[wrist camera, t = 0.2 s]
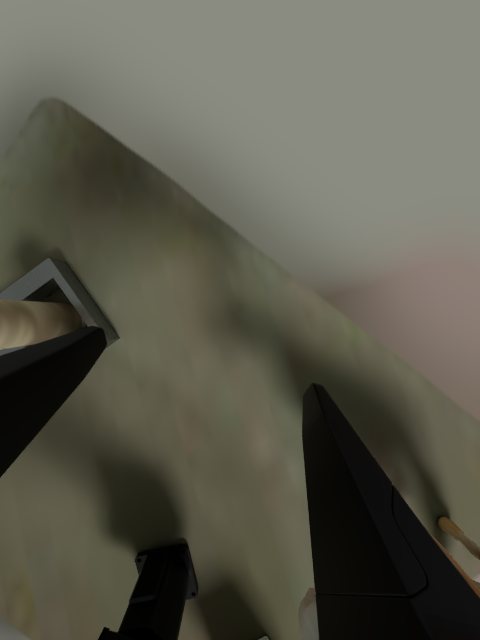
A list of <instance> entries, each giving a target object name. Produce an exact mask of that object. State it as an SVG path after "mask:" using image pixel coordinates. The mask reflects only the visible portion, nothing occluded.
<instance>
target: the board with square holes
mask: <svg viewBox="0 0 480 640" xmlns="http://www.w3.org/2000/svg"><path fill="white" fill-rule="evenodd" d="M59 288H61V289H62V291H63V292H64V293H65V295H66V296H67V298H68V299H69V300H70V302H71V303H72V305H73V306H74V307H75V309H76V310H77V312H78V313H79V315H80V316H81V317H82V319H83V320H84V322H85V323H86V324H87V326H88V327H89V326H97V327H101V328H103V329H104V332H105V335H106V339H107V346H106V348H107V347H108V346H109V345H111V344H112V343H114V342H115V341H117V340H118V339H119V336H118V335H117V334H116V332H115V331H114V329H113V328H112V327H111V325H110V324H109V322H108V321H107V320H106V318H105V317H104V315H103V314H102V312H101V311H100V310H99V308H98V307H97V305H96V304H95V303H94V301H93V300H92V298H91V297H90V296H89V294H88V293H87V291H86V290H85V288H84V287H83V286H82V284H81V283H80V281H79V280H78V279H77V277H76V276H75V274H74V273H73V272H72V270H71V269H70V267H69V266H68V264H67V263H66V262H64V261H60V260H57V259H53V258H50V257H49V258H47V259H46V260H45V261H43V262H42V263H40V264H39V265H38V266H36V267H35V268H34V269H32V270H31V271H30V272H28V273H27V274H25V275H24V276H23V277H21V278H20V279H19V280H17V281H16V282H15V283H13V284H12V285H10V286H9V287H8V288H6V289H5V290H4V291H2V292H1V293H0V300H17V301H35V302H41V301H42V300H43V299H45V298H46V297H48V296H49V295H50V294H52V293H53V292H54V291H56V290H57V289H59ZM28 346H31V345H27V346H20V347H14V348H7V349H0V356H1V355H4V354H7V353H10V352H13V351H16V350H19V349H22V348H25V347H28Z"/></svg>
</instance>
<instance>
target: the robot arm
mask: <svg viewBox="0 0 480 640" xmlns="http://www.w3.org/2000/svg"><path fill="white" fill-rule="evenodd" d="M106 346H107V339H106V335H105V332H104V329H103V328H101V327H97V326H89V327H86V328H83V329H80V330H77V331H74V332H71V333H68V334H65V335H62V336H59V337H56V338H52V339H49V340H46V341H43V342H40V343H37V344H34V345H31V346H28V347H25V348H22V349H19V350H16V351H13V352H10V353H7V354H4V355H1V356H0V477H1V476H2V475H3V474H4V473H5V471H6V470H7V469H8V468H9V467H10V466H11V464H12V463H13V462H14V461H15V460H16V458H17V457H18V456H19V455H20V454H21V453H22V451H23V450H24V449H25V448H26V447H27V446H28V444H29V443H30V442H31V441H32V440H33V438H34V437H35V436H36V435H37V434H38V433H39V431H40V430H41V429H42V428H43V427H44V425H45V424H46V423H47V422H48V421H49V420H50V418H51V417H52V416H53V415H54V414H55V413H56V411H57V410H58V409H59V408H60V407H61V405H62V404H63V403H64V402H65V401H66V400H67V398H68V397H69V396H70V395H71V394H72V392H73V391H74V390H75V389H76V388H77V387H78V385H79V384H80V383H81V382H82V381H83V379H84V378H85V377H86V375H87V374H88V373H89V371H90V370H91V368H92V367H93V365H94V364H95V362H96V361H97V360H98V358H99V357H100V355H101V354H102V352H103V351H104V349H105V348H106ZM302 440H303V452H304V464H305V476H306V488H307V500H308V512H309V524H310V536H311V547H312V559H313V571H314V583H315V592H316V594H315V597H316V609H317V621H318V633H319V640H480V597H479V596H478V595H477V594H476V592H475V591H474V590H473V588H472V587H471V586H470V585H469V583H468V582H467V581H466V580H465V578H464V577H463V576H462V575H461V573H460V572H459V571H458V570H457V568H456V567H455V566H454V564H453V563H452V562H451V561H450V559H449V558H448V557H447V556H446V554H445V553H444V552H443V551H442V549H441V548H440V547H439V545H438V544H437V543H436V542H435V540H434V539H433V538H432V536H431V535H430V534H429V533H428V531H427V530H426V529H425V527H424V526H423V525H422V523H421V522H420V521H419V519H418V518H417V517H416V515H415V514H414V513H413V511H412V510H411V508H410V507H409V506H408V504H407V503H406V502H405V500H404V499H403V498H402V496H401V495H400V493H399V492H398V490H397V489H396V488H395V486H393V485H392V482H391V481H390V479H389V478H388V477H387V475H386V474H385V472H384V471H383V470H382V468H381V467H380V465H379V464H378V463H377V461H376V460H375V458H374V457H373V456H372V454H371V453H370V451H369V450H368V449H367V447H366V446H365V444H364V443H363V442H362V440H361V439H360V437H359V436H358V435H357V433H356V432H355V430H354V429H353V428H352V426H351V425H350V423H349V422H348V420H347V419H346V418H345V416H344V415H343V413H342V412H341V411H340V409H339V408H338V406H337V405H336V404H335V402H334V401H333V399H332V398H331V397H330V395H329V394H328V392H327V391H326V390H325V388H324V387H323V386H322V385H319V384H315V383H312V384H311V385H310V386H309V388H308V389H307V391H306V392H305V394H304V396H303V419H302ZM135 562H136V566H137V570H138V574H139V577H138V580H137V582H136V585H135V587H134V590H133V592H132V595H131V597H130V600H129V605H128V608H127V610H126V613H125V615H124V618H123V620H122V623H121V625H120V628H119V631H118V632H114V631H110V628H106V627H104V629H103V631H102V633H101V635H100V637H99V639H98V640H178V636H179V631H180V626H181V621H182V616H183V611H184V606H185V601H186V599H191V598H195V597H197V595H198V586H197V581H196V577H195V573H194V569H193V565H192V561H191V557H190V553H189V549H188V546H187V545H186V544H180V545H175V546H170V547H165V548H160V549H155V550H150V551H145V552H140V553H138V554H137V556H136V559H135Z"/></svg>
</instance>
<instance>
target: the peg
mask: <svg viewBox="0 0 480 640" xmlns="http://www.w3.org/2000/svg"><path fill="white" fill-rule="evenodd" d="M81 325H82V319H81V316H80V315H79V313H78V312H77V310H76V309H75V307H74V306H72V305H70V304H67V303H53V302H35V301H17V300H0V349H7V348H14V347H20V346H27V345H34V344H37V343H40V342H43V341H46V340H49V339H52V338H56V337H59V336H62V335H65V334H68V333H71V332H74V331H77V330H80V329H81Z"/></svg>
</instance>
